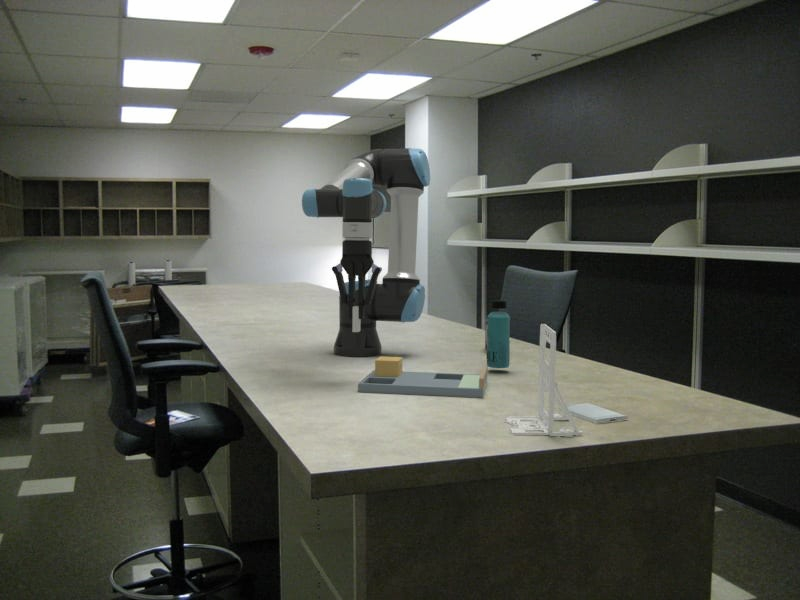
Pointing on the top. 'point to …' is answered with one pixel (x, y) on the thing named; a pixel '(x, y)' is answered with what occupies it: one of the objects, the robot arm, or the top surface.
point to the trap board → (427, 384)
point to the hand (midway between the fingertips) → (356, 331)
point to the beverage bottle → (498, 337)
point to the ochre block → (388, 366)
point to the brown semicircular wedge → (486, 333)
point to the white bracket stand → (547, 384)
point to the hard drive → (594, 413)
